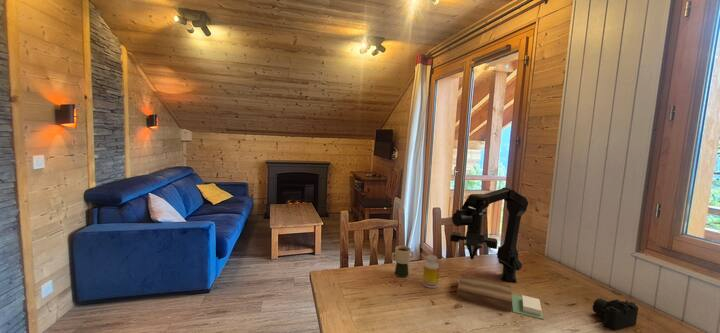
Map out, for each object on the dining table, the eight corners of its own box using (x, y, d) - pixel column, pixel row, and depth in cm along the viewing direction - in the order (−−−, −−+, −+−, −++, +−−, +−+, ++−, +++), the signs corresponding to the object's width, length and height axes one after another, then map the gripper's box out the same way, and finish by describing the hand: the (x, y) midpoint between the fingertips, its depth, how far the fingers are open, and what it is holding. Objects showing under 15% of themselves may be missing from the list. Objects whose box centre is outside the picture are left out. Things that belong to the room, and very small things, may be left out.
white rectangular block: (539, 299, 120) (538, 303, 120) (522, 295, 122) (521, 299, 123) (541, 310, 112) (541, 315, 112) (523, 306, 114) (522, 311, 114)
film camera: (611, 310, 118) (614, 288, 117) (640, 325, 109) (643, 302, 108) (583, 316, 113) (586, 293, 112) (611, 332, 104) (615, 308, 103)
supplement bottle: (438, 289, 129) (440, 261, 127) (422, 287, 130) (424, 259, 129) (437, 282, 135) (439, 254, 134) (422, 280, 137) (424, 253, 135)
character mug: (409, 270, 146) (410, 244, 145) (415, 277, 139) (417, 250, 138) (388, 272, 143) (389, 246, 142) (393, 279, 136) (394, 251, 135)
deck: (460, 283, 135) (461, 274, 135) (509, 294, 127) (510, 285, 127) (456, 298, 122) (457, 288, 122) (511, 311, 114) (512, 301, 114)
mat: (511, 294, 127) (511, 294, 127) (538, 301, 123) (538, 300, 123) (512, 312, 114) (513, 311, 114) (543, 319, 110) (543, 318, 110)
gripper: (449, 225, 125) (447, 261, 127) (498, 233, 118) (495, 271, 119) (453, 219, 135) (450, 252, 137) (498, 225, 128) (495, 260, 129)
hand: (471, 259), depth 130 cm, fingers closed
